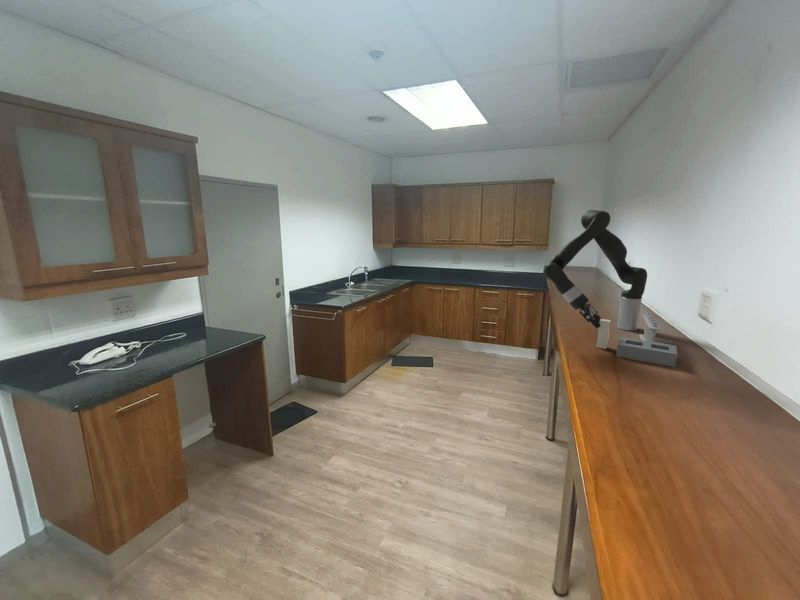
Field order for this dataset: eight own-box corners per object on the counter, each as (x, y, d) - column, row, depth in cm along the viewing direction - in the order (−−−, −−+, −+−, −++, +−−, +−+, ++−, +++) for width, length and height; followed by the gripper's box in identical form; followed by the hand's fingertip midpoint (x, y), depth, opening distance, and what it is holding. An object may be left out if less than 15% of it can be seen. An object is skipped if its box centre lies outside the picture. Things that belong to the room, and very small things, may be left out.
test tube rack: (658, 353, 153) (662, 324, 150) (645, 351, 155) (650, 323, 152) (649, 336, 174) (653, 311, 171) (639, 335, 176) (642, 310, 173)
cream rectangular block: (597, 345, 162) (600, 318, 159) (607, 347, 160) (610, 320, 157) (596, 347, 160) (599, 320, 157) (606, 349, 158) (609, 321, 155)
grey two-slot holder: (619, 348, 158) (620, 336, 157) (674, 357, 147) (676, 345, 146) (616, 356, 149) (617, 344, 148) (674, 367, 137) (677, 354, 136)
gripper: (579, 295, 155) (605, 324, 151) (585, 290, 166) (609, 316, 162) (565, 305, 159) (590, 333, 155) (571, 299, 171) (595, 325, 166)
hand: (600, 324), depth 159 cm, fingers open, 8 cm apart
